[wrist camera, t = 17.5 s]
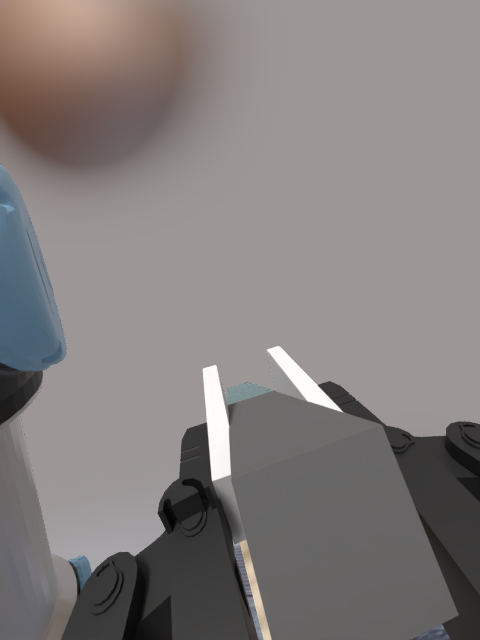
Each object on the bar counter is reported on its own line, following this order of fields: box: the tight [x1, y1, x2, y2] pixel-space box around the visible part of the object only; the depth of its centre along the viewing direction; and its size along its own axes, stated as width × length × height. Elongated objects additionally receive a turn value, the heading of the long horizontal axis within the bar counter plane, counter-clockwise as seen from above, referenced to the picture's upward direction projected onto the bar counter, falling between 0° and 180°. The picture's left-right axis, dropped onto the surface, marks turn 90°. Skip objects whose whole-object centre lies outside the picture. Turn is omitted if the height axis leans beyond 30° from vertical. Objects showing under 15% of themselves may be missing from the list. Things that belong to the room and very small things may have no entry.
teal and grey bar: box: [227, 382, 459, 640], centre depth 17 cm, size 28×3×3 cm, turn 4°
